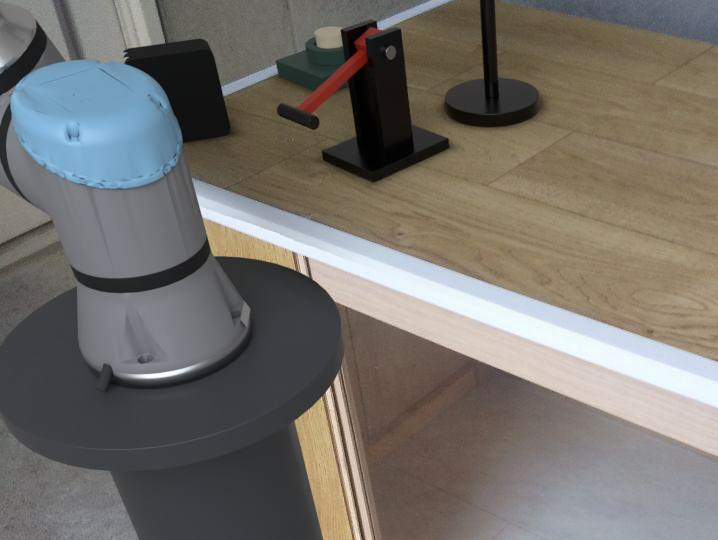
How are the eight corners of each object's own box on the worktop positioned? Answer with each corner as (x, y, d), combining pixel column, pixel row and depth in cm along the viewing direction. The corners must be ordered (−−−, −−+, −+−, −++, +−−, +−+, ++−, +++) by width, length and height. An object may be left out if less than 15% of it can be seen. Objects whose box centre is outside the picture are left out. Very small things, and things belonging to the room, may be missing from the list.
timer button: (329, 52, 131) (327, 38, 129) (310, 46, 133) (308, 32, 131) (352, 44, 133) (350, 30, 132) (333, 38, 135) (331, 24, 133)
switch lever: (314, 136, 105) (304, 117, 102) (282, 123, 107) (272, 104, 105) (402, 54, 108) (394, 34, 106) (369, 43, 111) (360, 23, 109)
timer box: (325, 95, 130) (319, 63, 127) (278, 77, 135) (272, 46, 132) (393, 69, 136) (389, 38, 133) (346, 53, 141) (341, 22, 138)
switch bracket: (373, 182, 111) (355, 53, 101) (322, 160, 115) (300, 34, 106) (449, 148, 117) (439, 23, 108) (398, 128, 122) (384, 6, 112)
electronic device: (232, 134, 121) (212, 48, 114) (148, 148, 119) (122, 61, 112) (227, 122, 124) (207, 37, 117) (145, 135, 121) (119, 49, 114)
